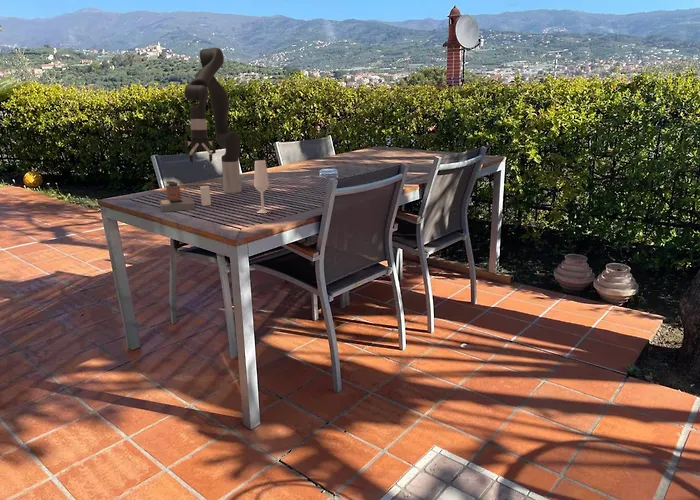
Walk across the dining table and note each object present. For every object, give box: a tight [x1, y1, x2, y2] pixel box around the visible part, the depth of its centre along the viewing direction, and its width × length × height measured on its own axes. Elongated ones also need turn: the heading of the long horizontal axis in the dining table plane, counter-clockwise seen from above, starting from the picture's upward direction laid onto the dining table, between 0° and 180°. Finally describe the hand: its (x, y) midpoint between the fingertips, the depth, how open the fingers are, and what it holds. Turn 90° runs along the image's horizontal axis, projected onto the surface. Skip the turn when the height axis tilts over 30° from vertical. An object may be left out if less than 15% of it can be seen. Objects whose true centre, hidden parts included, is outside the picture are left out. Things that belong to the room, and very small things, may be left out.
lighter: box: [165, 180, 182, 199], centre depth 262 cm, size 8×3×10 cm, turn 71°
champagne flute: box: [253, 159, 270, 213], centre depth 233 cm, size 7×7×24 cm
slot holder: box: [159, 196, 196, 213], centre depth 247 cm, size 15×15×3 cm
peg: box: [199, 185, 212, 207], centre depth 252 cm, size 4×4×9 cm
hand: (201, 162), depth 249 cm, fingers open, 8 cm apart
